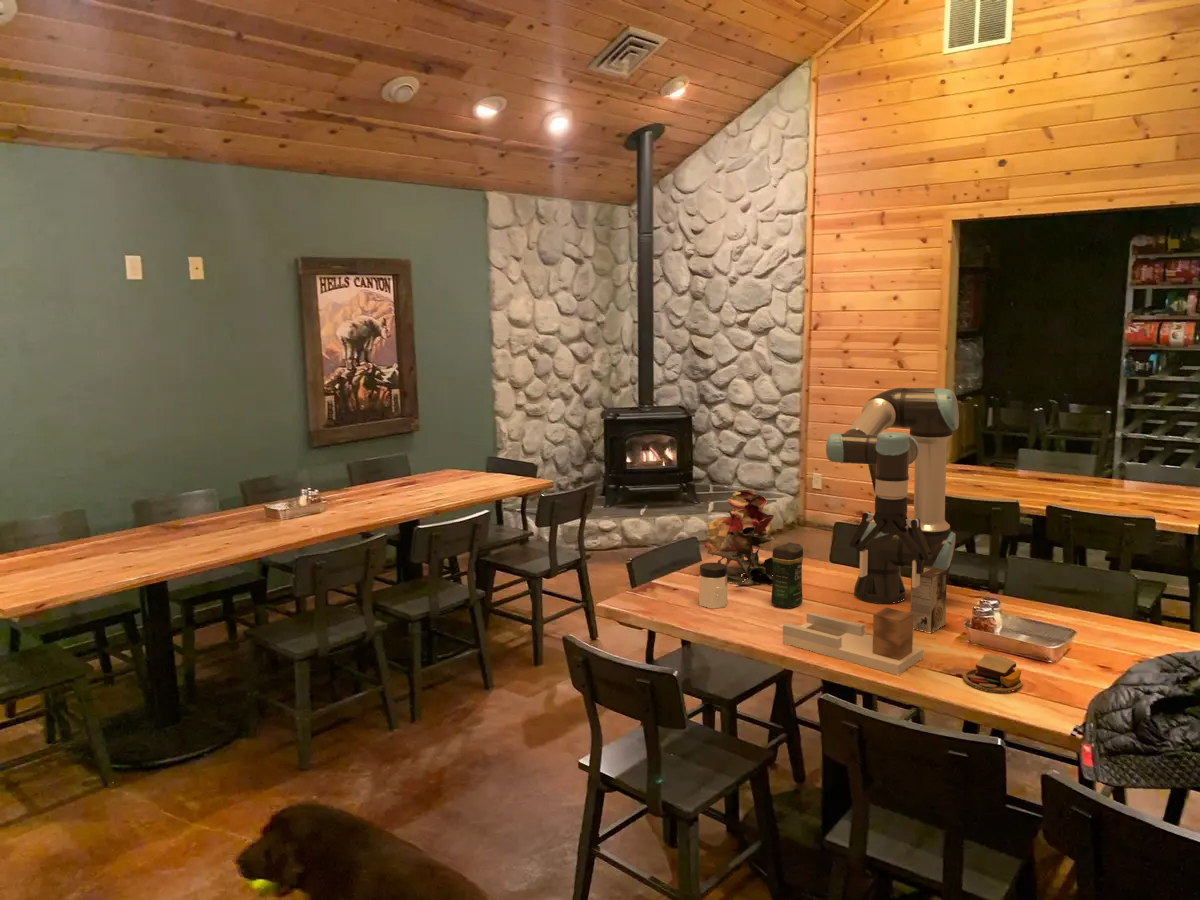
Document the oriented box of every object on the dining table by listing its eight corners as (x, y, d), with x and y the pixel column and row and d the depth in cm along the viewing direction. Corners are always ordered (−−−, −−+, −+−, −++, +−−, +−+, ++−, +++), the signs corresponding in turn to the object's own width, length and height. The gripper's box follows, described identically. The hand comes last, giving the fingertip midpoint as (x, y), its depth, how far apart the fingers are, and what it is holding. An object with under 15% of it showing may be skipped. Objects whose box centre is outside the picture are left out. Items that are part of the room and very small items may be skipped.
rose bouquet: (768, 563, 306) (769, 480, 302) (793, 587, 277) (794, 496, 273) (697, 566, 304) (696, 482, 300) (714, 591, 275) (714, 498, 271)
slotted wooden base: (923, 658, 217) (923, 639, 216) (898, 675, 207) (898, 655, 206) (810, 629, 239) (810, 612, 238) (782, 643, 229) (782, 625, 228)
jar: (703, 610, 257) (703, 570, 256) (694, 601, 265) (694, 563, 264) (732, 607, 259) (732, 568, 258) (722, 599, 267) (722, 561, 266)
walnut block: (912, 652, 214) (913, 613, 213) (899, 660, 209) (900, 620, 208) (885, 645, 219) (886, 607, 218) (872, 653, 214) (873, 614, 213)
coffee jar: (791, 610, 255) (791, 549, 252) (767, 605, 260) (767, 545, 257) (806, 602, 262) (807, 543, 260) (783, 597, 267) (784, 539, 265)
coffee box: (923, 620, 244) (925, 565, 242) (946, 625, 240) (948, 569, 238) (908, 628, 238) (910, 572, 236) (931, 634, 234) (933, 576, 231)
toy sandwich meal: (951, 681, 203) (952, 662, 203) (983, 667, 211) (984, 649, 210) (1002, 699, 193) (1003, 679, 192) (1034, 684, 201) (1035, 664, 200)
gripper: (948, 500, 204) (945, 587, 207) (851, 488, 221) (850, 568, 224) (935, 505, 199) (932, 594, 202) (837, 492, 216) (835, 574, 219)
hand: (888, 581), depth 213 cm, fingers open, 13 cm apart
